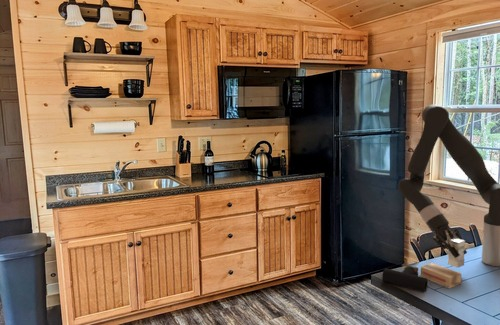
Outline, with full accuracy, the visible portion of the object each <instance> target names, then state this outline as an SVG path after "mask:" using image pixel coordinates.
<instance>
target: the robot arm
mask: <svg viewBox="0 0 500 325" xmlns="http://www.w3.org/2000/svg"><path fill="white" fill-rule="evenodd" d="M421 117H422V120H423V123H424V124H423V128H422V133H421V136H420V138H419V141H418V143H417V144H416V147H415V148H414V150H413V152H412V154H411V157H410V160H409V162H408V165H407V171H408V173H409V177H408V178H402V179H400V181H399V182H398V186H397V188H398V190H399V192H400V194H401V195H402V196H403V197H404V198H405V199H406V201H408V202H409V203H411V204H412V205H413V207H414V208H415V210H416V211H417V212H418V213H419V215H420V217H421V218H422V220H423V221H424V223H425V224H426V226H427V227H428V228H429V230H430V231H431V233H435V234H434V236H433V237H432V240H433V241H434V242H435V243H436V244H438V245H439V246H440V247H441V248H442V249H443V250H448V251H450V252H451V254H452V255H453V256H454V257H455V258H456V257H458V256H460V254H459V253H458V252H457V250H456V249H455V247H453V245H452V243H451V242H450V241H451V239H454V238H455V239H460V240H464V239H463V237H462V235H461V233H460V230H459V229H458V228H454V229H452V228H451V227H450V226H449V224H450V223H449V220H448V219H447V218H446V216H445V215H444V214H443V213H442V212H441V210H440V209H439V208H438V207H437V206H436V205H435V203H434V201H432V199H431V198H430V197H429V196H428V195H427V194H425V193H422V192H421V190H422V189H423V187H424V181H425V173H426V169H427V167H428V164H429V162H430V159H431V157H432V156H431V155H432V154H433V151H434V148H435V145H436V143H437V141H438V139H440V141H441V143H442V144H443V146H444V148H445V149H446V151H447V152H448V154H449V155H450V157H451V158H452V160H453V161H454V162H455V164H456V165H457V166H458V167H459V168H460V170H461V171H462V172H463V173H464V174H465V176H466V177H468V179H469V180H470V181H471V183H473V185H474V187H475V189H476V190H477V192H478V193H479V195H480V197H481V198H482V199H483V201H484V202H485V203H486V204H488V213H486V214H484V215H483V229H482V230H483V231H482V248H481V249H482V252H481V261H482V263H484V264H486V265H489V266H493V267H500V183H499V182H497V180H495V178H494V177H493V176H492V175H491V174H490V172H489V171H488V169H487V166H486V164H485V161H484V159H483V156H482V155H481V153H480V152H479V151H478V149H477V148H476V147H475V145H474V144H473V143H472V142H471V141H470V140H469V139H468V138H467V137H466V135H464V134H463V133H462V132H460V131H459V130H458V128H457V127H456V125H455V124H454V123H453V122H452V121H451V119H450V114H449V112H448V110H447V108H445V107H443V106H442V105H440V104H436V103H435V104H433V103H432V104H429V105H427V106H425V108H424V109H423V110H422V116H421ZM467 253H468V251H467V250H466V249H465V250H464V256H465V255H466V254H467Z"/></svg>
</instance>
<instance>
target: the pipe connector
mask: <svg viewBox="0 0 500 325" xmlns="http://www.w3.org/2000/svg"><path fill="white" fill-rule="evenodd" d="M418 271H419V267H416V266H413V265H406V266H405V267H404V269H403V270H402V271H398V270H395V269H394V270H393V269H390V268H386V267H385V268H384V269H383V271H382V273H381V274H382V276H381V278H382V282H384V283H389V284H393V285H396V286H400V287H404V288H407V289H411V290H416V291H418V292H422V293H426V292H427V290H428V286H429V285H428V284H429V280H428V279H427V278H423V277H421V276H419V272H418Z"/></svg>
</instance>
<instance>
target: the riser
mask: <svg viewBox="0 0 500 325" xmlns="http://www.w3.org/2000/svg"><path fill="white" fill-rule="evenodd" d="M420 277H423V278H427V279H428V281H431V282H433V283H436V284H438V285H440V286H443V287H445V288H447V289H451V288H454V287H456V286H458V285H461V284H462V273H461V272H458V271H455V270H453V269H451V268H447V267H444V266H442V265H438V264H436V263H434V262H431V263H428V264H425V265H422V266H420Z"/></svg>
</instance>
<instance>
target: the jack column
mask: <svg viewBox="0 0 500 325" xmlns="http://www.w3.org/2000/svg"><path fill="white" fill-rule="evenodd" d="M450 242H451V243H452V245H453V247H455V249H456V250H457V252H458V253H459V254H460V256H458V257H456V258H455V257H454V256H453V255H452V254H451V252H450V251H449V250H448V253H447V254H448V258H447V259H448V260H447V265H450V266H451V267H455V268H458V269H459V268H460V267H463V266H465V255H464V250H466V249H465V248H466V247H465V245H466V240H464V239H463V240H460V239H459V238H458V239H455V238H452V239H451V241H450Z"/></svg>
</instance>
